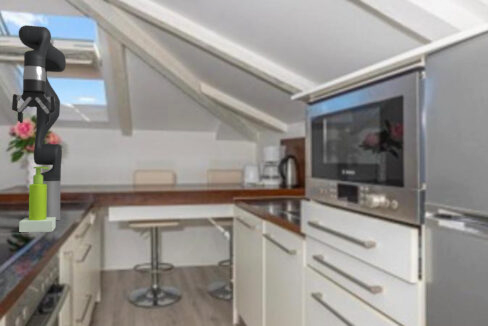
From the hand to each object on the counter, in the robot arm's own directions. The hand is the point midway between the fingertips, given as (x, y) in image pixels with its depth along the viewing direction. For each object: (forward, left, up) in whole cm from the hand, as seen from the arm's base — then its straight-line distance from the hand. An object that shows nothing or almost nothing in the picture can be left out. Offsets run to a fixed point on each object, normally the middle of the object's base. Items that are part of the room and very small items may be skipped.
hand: (33, 123), depth 152 cm
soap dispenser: (-1, +2, -36) cm, 36 cm away
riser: (-1, +2, -40) cm, 40 cm away
